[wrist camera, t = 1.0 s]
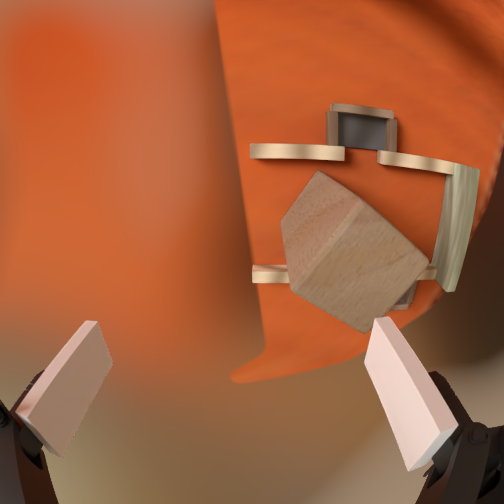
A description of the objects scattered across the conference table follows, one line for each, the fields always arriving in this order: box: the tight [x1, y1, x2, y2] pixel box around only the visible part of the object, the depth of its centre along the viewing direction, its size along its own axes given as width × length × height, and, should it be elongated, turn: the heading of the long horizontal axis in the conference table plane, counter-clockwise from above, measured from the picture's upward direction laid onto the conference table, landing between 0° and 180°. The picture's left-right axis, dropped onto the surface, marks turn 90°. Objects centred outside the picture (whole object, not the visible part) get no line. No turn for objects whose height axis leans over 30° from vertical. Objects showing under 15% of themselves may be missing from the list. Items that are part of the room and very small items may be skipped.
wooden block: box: [280, 171, 429, 334], centre depth 32 cm, size 10×10×20 cm
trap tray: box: [250, 103, 480, 311], centre depth 37 cm, size 35×33×7 cm
